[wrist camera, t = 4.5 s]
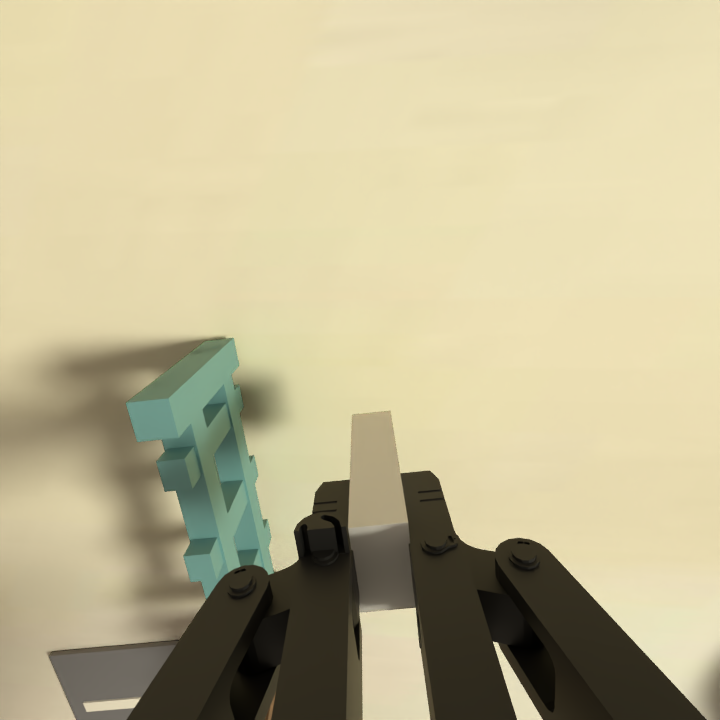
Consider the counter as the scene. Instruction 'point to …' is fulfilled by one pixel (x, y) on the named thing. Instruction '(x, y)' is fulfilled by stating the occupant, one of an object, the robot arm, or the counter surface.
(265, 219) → the counter surface
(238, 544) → the fence
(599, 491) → the counter surface
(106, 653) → the card
